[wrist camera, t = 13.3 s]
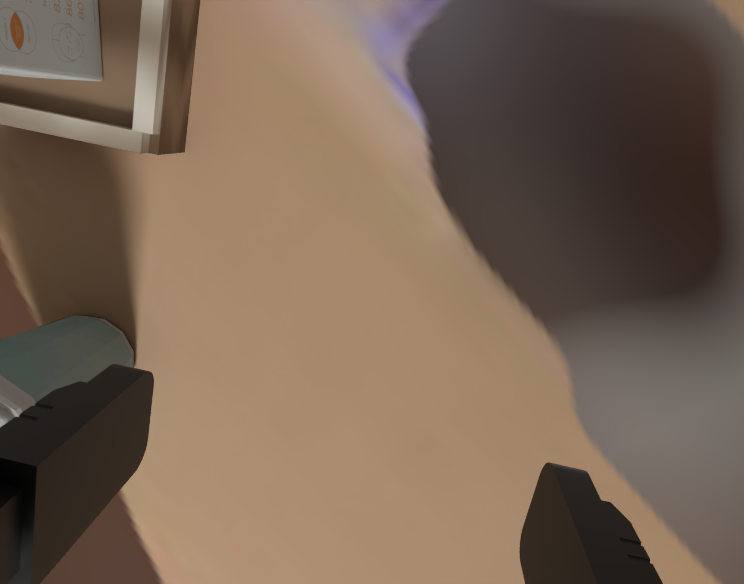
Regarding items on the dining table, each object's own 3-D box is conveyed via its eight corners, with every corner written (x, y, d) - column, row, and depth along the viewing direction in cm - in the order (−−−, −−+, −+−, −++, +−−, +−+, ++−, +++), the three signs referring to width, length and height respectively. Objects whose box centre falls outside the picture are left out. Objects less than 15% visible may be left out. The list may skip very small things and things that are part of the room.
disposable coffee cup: (148, 282, 41) (1, 364, 27) (179, 420, 44) (60, 560, 30) (10, 296, 43) (-202, 381, 28) (48, 429, 45) (-127, 568, 31)
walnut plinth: (-17, -130, 35) (-87, -171, 30) (208, -86, 35) (174, -120, 30) (-19, 109, 39) (-81, 107, 34) (184, 152, 39) (150, 155, 34)
